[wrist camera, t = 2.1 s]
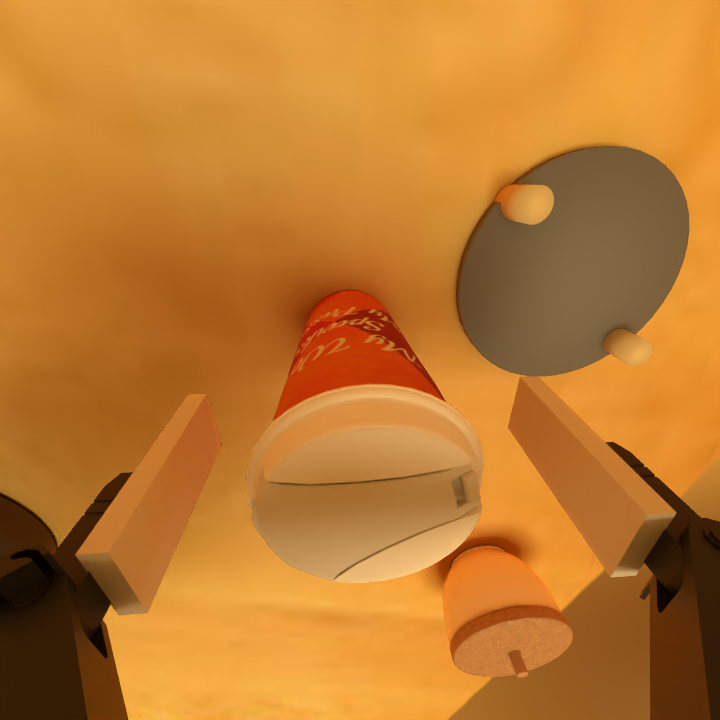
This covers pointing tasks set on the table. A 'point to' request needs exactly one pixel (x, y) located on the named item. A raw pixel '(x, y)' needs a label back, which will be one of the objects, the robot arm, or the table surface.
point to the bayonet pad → (573, 262)
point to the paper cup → (363, 454)
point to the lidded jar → (500, 615)
